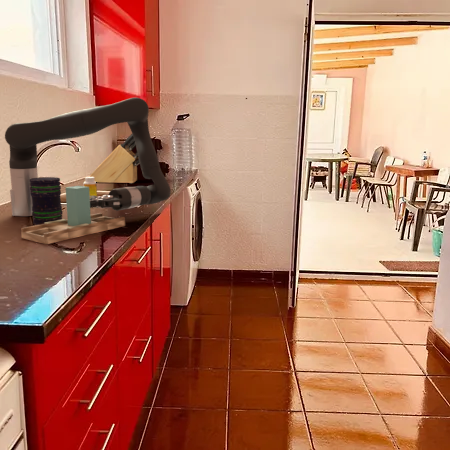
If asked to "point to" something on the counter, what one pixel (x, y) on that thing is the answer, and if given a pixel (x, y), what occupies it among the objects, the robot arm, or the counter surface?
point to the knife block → (119, 165)
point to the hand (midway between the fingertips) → (84, 205)
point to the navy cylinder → (46, 199)
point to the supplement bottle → (91, 186)
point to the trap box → (69, 229)
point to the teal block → (78, 205)
